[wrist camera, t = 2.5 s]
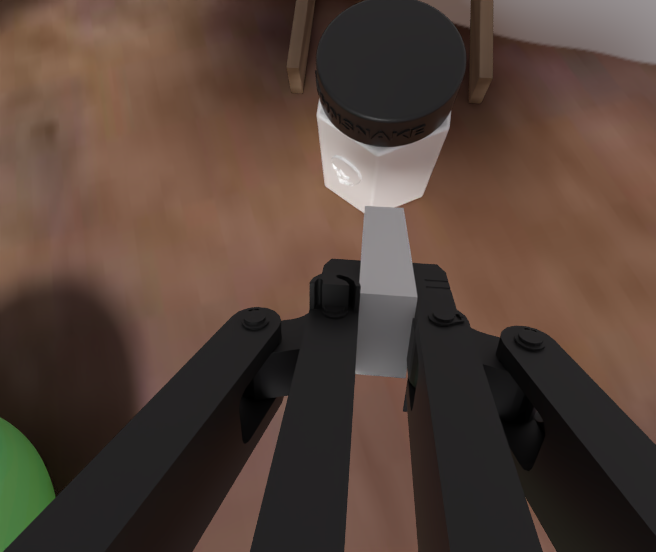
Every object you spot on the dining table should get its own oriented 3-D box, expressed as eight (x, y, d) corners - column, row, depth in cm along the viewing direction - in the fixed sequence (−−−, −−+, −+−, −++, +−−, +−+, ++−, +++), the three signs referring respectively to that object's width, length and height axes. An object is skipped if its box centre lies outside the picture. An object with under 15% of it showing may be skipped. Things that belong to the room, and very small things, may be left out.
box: (291, 92, 36) (286, 67, 33) (308, -27, 39) (305, -60, 37) (480, 103, 35) (492, 78, 32) (482, -21, 38) (493, -54, 35)
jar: (301, 173, 34) (277, 66, 23) (362, 103, 36) (368, -32, 24) (391, 236, 33) (414, 154, 21) (450, 160, 34) (504, 44, 22)
